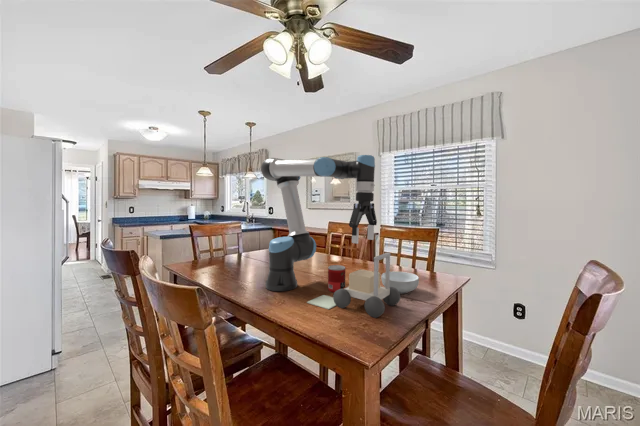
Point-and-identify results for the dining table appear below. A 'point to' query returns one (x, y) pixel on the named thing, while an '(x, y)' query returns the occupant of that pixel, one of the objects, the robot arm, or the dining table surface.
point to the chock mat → (323, 302)
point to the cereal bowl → (402, 281)
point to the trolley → (369, 289)
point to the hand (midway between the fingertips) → (363, 241)
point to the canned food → (336, 277)
